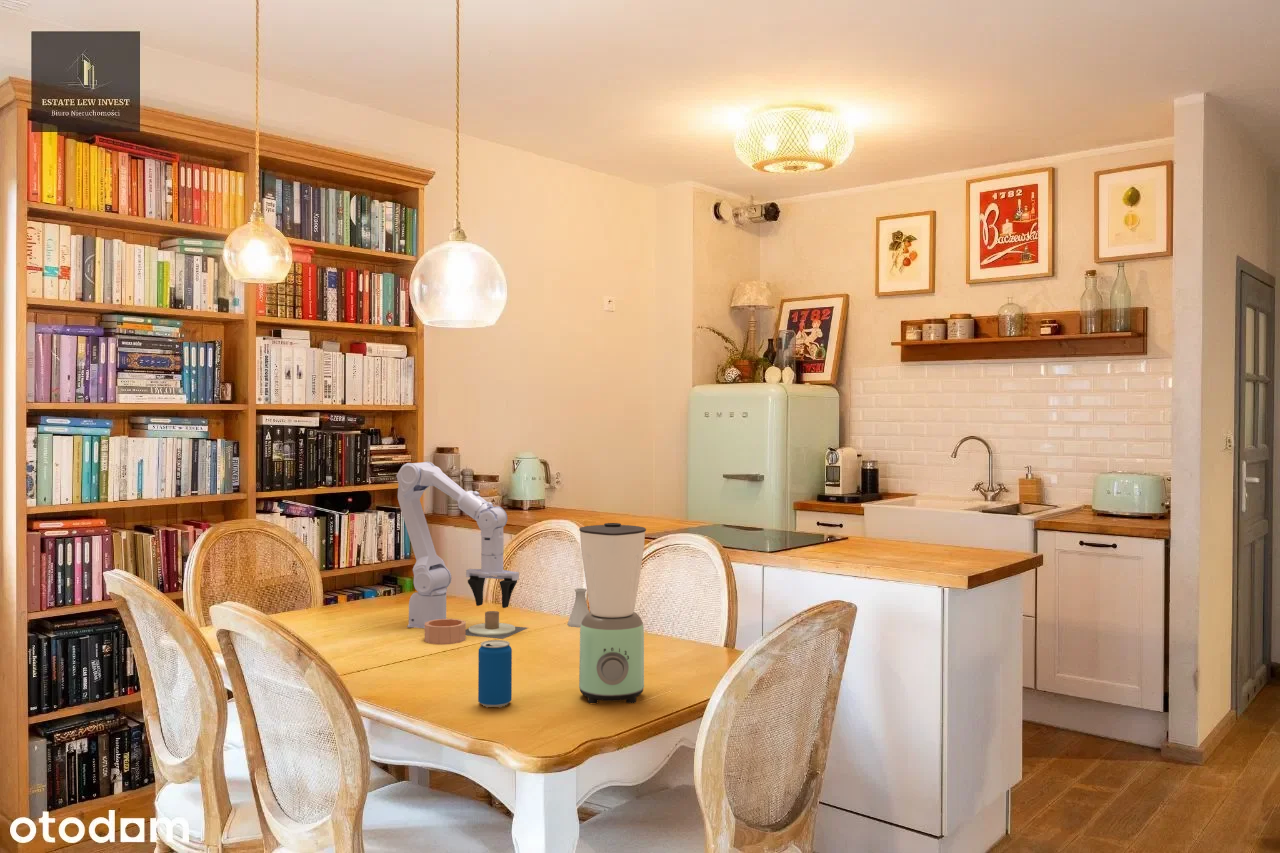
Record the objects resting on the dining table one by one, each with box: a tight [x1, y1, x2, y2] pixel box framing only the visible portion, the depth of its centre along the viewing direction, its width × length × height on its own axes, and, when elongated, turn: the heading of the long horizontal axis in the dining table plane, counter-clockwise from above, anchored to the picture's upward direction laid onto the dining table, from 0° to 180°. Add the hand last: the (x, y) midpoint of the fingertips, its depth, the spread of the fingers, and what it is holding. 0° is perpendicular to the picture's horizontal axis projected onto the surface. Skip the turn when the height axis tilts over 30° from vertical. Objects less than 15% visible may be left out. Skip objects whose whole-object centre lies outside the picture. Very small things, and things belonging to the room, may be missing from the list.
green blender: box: [578, 522, 647, 704], centre depth 202 cm, size 19×13×35 cm
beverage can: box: [477, 639, 513, 708], centre depth 195 cm, size 6×6×12 cm
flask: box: [567, 587, 590, 628], centre depth 268 cm, size 7×7×10 cm
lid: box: [468, 610, 515, 636], centre depth 259 cm, size 12×12×5 cm
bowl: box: [424, 618, 467, 645], centre depth 249 cm, size 10×10×4 cm
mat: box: [466, 623, 528, 640], centre depth 259 cm, size 14×14×1 cm
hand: (492, 606), depth 259 cm, fingers open, 7 cm apart
